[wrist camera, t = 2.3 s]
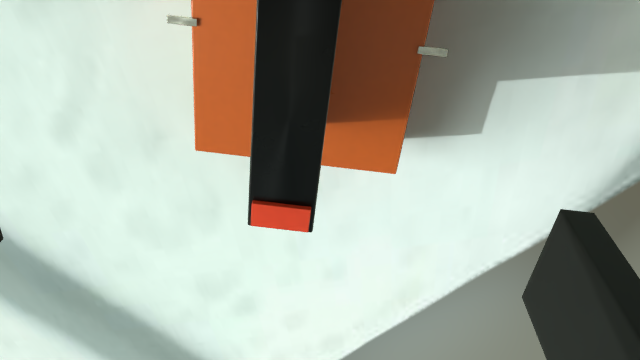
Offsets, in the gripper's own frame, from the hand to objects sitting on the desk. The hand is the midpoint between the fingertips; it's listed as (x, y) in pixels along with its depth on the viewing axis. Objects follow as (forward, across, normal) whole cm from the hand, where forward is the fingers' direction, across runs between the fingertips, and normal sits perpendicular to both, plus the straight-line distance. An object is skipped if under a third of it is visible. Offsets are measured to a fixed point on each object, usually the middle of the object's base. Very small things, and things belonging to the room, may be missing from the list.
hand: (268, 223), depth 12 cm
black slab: (+14, 0, 0) cm, 14 cm away
